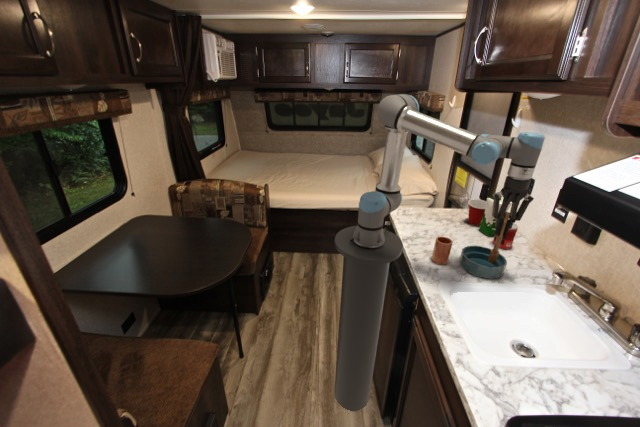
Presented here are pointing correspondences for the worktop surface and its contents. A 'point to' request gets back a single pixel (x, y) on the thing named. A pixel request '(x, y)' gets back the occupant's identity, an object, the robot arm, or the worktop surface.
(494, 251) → the stick
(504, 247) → the canned food
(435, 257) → the crock
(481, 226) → the milk carton
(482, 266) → the bowl
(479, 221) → the plastic cup
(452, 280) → the worktop surface
